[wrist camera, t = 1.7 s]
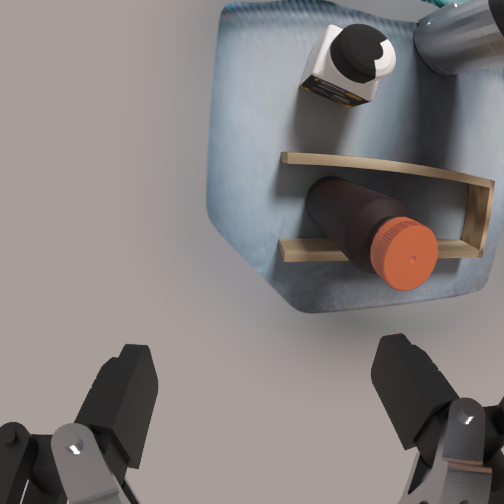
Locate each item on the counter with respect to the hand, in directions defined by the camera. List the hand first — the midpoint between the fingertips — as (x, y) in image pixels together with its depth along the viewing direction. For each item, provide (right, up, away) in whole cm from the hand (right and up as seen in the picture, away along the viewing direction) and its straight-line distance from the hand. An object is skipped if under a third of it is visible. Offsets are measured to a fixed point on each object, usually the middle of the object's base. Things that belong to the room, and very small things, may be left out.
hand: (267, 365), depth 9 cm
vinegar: (+10, +10, +27) cm, 31 cm away
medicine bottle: (+10, +26, +21) cm, 35 cm away
